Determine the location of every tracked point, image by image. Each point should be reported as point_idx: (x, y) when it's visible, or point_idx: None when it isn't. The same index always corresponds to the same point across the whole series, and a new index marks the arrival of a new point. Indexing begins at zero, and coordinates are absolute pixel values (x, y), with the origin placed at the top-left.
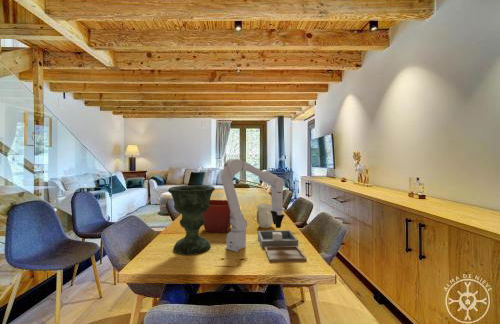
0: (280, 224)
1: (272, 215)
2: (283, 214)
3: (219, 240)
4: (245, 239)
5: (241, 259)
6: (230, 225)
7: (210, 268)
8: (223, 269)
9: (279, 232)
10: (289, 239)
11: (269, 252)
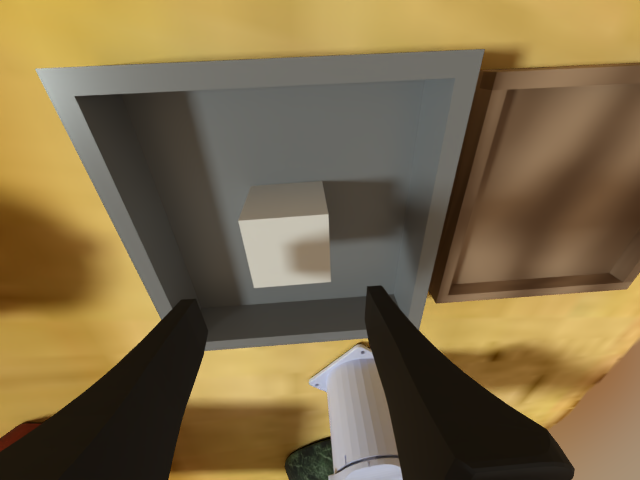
0: (400, 318)
1: (169, 465)
2: (484, 475)
3: (260, 425)
4: (381, 396)
5: (497, 357)
6: (16, 434)
7: (529, 410)
8: (555, 388)
9: (257, 231)
10: (210, 96)
11: (490, 273)
